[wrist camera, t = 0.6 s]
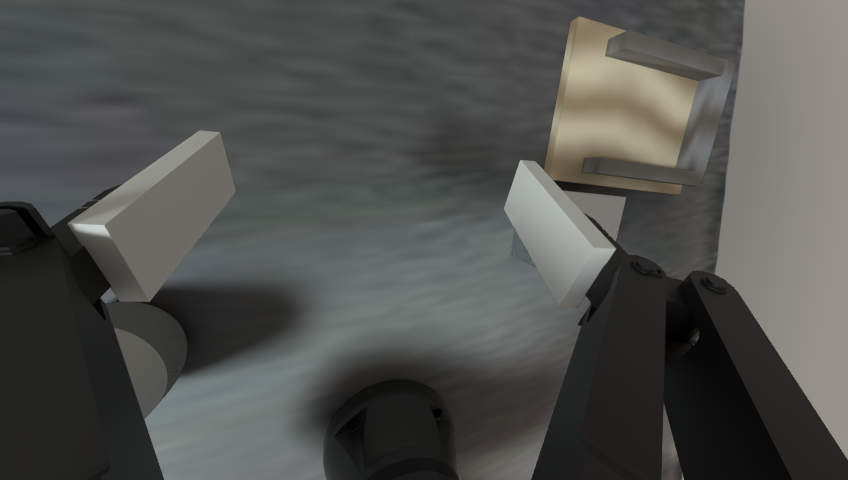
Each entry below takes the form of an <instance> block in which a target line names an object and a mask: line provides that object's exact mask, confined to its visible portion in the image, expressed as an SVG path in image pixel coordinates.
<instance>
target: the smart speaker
mask: <svg viewBox="0 0 848 480" xmlns="http://www.w3.org/2000/svg"><path fill="white" fill-rule="evenodd" d="M105 305H106V306H107V309H108V312H109V315H110V318H111V321H112V324H113V327H114V330H115V333H116V336H117V339H118V342H119V345H120V348H121V351H122V354H123V357H124V360H125V363H126V366H127V369H128V372H129V375H130V378H131V381H132V384H133V387H134V390H135V394H136V397H137V400H138V403H139V406H140V409H141V412H142V415H143V418H144V419H145V418H146V417H147V416H148V415H149V414H150V413H151V412H152V410H153V409H154V408H155V407H156V406H157V405H158V404H159V403H160V401H161V400H162V399H163V398H164V397H165V395H166V394H167V393H168V392H169V390H170V389H171V388H172V386H173V385H174V384H175V382H176V380H177V379H178V377H179V375H180V373H181V371H182V369H183V367H184V364H185V361H186V356H187V339H186V336H185V333H184V331H183V329H182V327H181V325H180V324H179V323H178V322H177V320H176V319H175V318H173V317H172V316H171V315H170V314H168V313H167V312H165V311H164V310H162V309H160V308H157V307H155V306H152V305H149V304H144V303H138V302H113V303H106V304H105Z"/></svg>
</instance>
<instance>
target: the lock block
mask: <svg viewBox="0 0 848 480" xmlns="http://www.w3.org/2000/svg"><path fill="white" fill-rule="evenodd" d="M562 191H563V192H564V193H565V194H566V195H567V196H568V197H569V198H570V199H571V200H572V202H573V203H574V204H575V205H576V206H577V207H578V208H579V209H580V210H581V211H582V212H583V213H585V214H587V215H588V216H590V217H591V218H593V219H594V220H596V221H597V222H598V224H599V225H600V226H601V227H602V229H604V230H605V231H606V232H607V233H608V234H609V235H608V236H611V237H612V238H613V239H614V240H615V241H616V239H617V234H618V230H619V226H620V222H621V218H622V213H623V209H624V205H625V201H626V197H620V196H611V195H602V194H594V193H585V192H576V191H566V190H562ZM510 255H512V256H514V257H516V258H518V259H520V260H522V261H524V262H525V263H527V264H529V265H531V266H533V267H535V268H537V267H536V265H535V264H534V262H533V260H532V258H531V257H530V255H529V253H528V251H527V249H526V248H525V246H524V244H523V242H522V241H521V239H520V237H519V235H518V233H517V232H516V230H515V228H514V234H513V240H512V246H511V252H510Z"/></svg>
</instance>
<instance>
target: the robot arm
mask: <svg viewBox="0 0 848 480" xmlns="http://www.w3.org/2000/svg"><path fill="white" fill-rule="evenodd" d="M235 192H236V191H235V187H234V183H233V180H232V176H231V172H230V168H229V164H228V161H227V157H226V153H225V149H224V145H223V142H222V138H221V134H220V132H209V131H198V132H197V133H195V134H194V135H193V136H191V137H190V138H188V139H187V140H185V141H184V142H183V143H181V144H180V145H178V146H177V147H175V148H174V149H173V150H171V151H170V152H168V153H167V154H166V155H164V156H163V157H161V158H160V159H158V160H157V161H156V162H154V163H153V164H151V165H150V166H148V167H147V168H146V169H144V170H143V171H141V172H140V173H138V174H137V175H136V176H134V177H133V178H131V179H130V180H128V181H127V182H126V183H124V184H121V185H118V186H116V187H113V188H111V189H108V190H105V191H104V192H102V193H101V194H99V195H98V196H96V197H95V198H93V199H92V201H89V202H87V203H86V204H85V205H83V206H82V207H81V209H77V210H76V211H74V212H73V213H71V214H70V215H68V216H67V217H65V218H64V219H62V220H61V221H59V222H58V223H57V224H55V225H54V226H52V227H51V228H50V227H49V226H48V225H47V223H46V222H45V221H44V219H43V218H42V216H41V215H40V214H39V212H38V211H37V210H36V208H35V207H34V206H33V205H32V204H30V203H25V202H1V203H0V480H164V478H163V475H162V472H161V469H160V466H159V463H158V460H157V457H156V454H155V451H154V448H153V445H152V442H151V439H150V436H149V433H148V430H147V427H146V424H145V421H144V418H143V415H142V412H141V409H140V406H139V403H138V400H137V397H136V394H135V390H134V387H133V384H132V381H131V378H130V375H129V372H128V369H127V366H126V363H125V360H124V357H123V354H122V351H121V348H120V345H119V342H118V339H117V336H116V333H115V330H114V327H113V324H112V321H111V318H110V315H109V312H108V309H107V306H106V305H105V303H104V302H103V300H102V299H101V298H100V297H101V296H102V295H103V294H104V293H105V292H106V291H107V290H108V289H109V288H110V287H111V289H112V290H113V292H114V293H115V295H116V296H117V298H118V299H119V301H120V302H150V301H151V300H152V298H153V297H154V296H155V294H156V293H157V292H158V291H159V289H160V288H161V287H162V286H163V284H164V283H165V282H166V280H167V279H168V278H169V277H170V275H171V274H172V273H173V271H174V270H175V269H176V268H177V266H178V265H179V264H180V263H181V261H182V260H183V259H184V257H185V256H186V255H187V254H188V252H189V251H190V250H191V248H192V247H193V246H194V245H195V243H196V242H197V241H198V239H199V238H200V237H201V236H202V234H203V233H204V232H205V231H206V229H207V228H208V227H209V225H210V224H211V223H212V222H213V220H214V219H215V218H216V216H217V215H218V214H219V213H220V211H221V210H222V209H223V208H224V206H225V205H226V204H227V202H228V201H229V200H230V199H231V197H232V196H233V195H234V193H235ZM504 210H505V212H506V214H507V216H508V217H509V219H510V221H511V223H512V225H513V226H514V228H515V230H516V232H517V233H518V235H519V237H520V239H521V241H522V242H523V244H524V246H525V248H526V249H527V251H528V253H529V255H530V257H531V258H532V260H533V262H534V264H535V265H536V267H537V269H538V271H539V273H540V274H541V276H542V278H543V280H544V281H545V283H546V285H547V287H548V289H549V290H550V292H551V294H552V296H553V297H554V299H555V301H556V303H557V305H558V306H559V307H579V305H580V304H581V302H582V301H583V299H584V298H585V296H587V298H588V299H589V300H590V302H591V303H592V304H591V305H590V307H589V308H588V310H587V311H586V313H585V314H584V316H583V317H582V319H581V320H580V321H579V323H578V325H580V326H581V325H582V327H581V330H580V333H579V336H578V339H577V342H576V345H575V348H574V351H573V354H572V357H571V360H570V363H569V366H568V369H567V372H566V375H565V378H564V381H563V385H562V388H561V391H560V394H559V397H558V400H557V403H556V406H555V409H554V412H553V415H552V418H551V421H550V424H549V427H548V430H547V433H546V436H545V439H544V442H543V445H542V448H541V451H540V455H539V458H538V461H537V464H536V467H535V470H534V473H533V476H532V479H531V480H661V469H662V433H663V401H664V405H665V409H666V412H667V416H668V420H669V424H670V428H671V431H672V435H673V439H674V443H675V447H676V450H677V454H678V458H679V462H680V466H681V469H682V473H683V477H684V480H848V460H847V458H846V457H845V455H844V454H843V452H842V450H841V449H840V447H839V446H838V444H837V443H836V441H835V440H834V438H833V437H832V435H831V434H830V432H829V431H828V429H827V428H826V426H825V424H824V423H823V422H822V420H821V418H820V417H819V415H818V414H817V412H816V411H815V409H814V408H813V406H812V405H811V403H810V402H809V400H808V399H807V397H806V396H805V394H804V392H803V391H802V389H801V388H800V386H799V385H798V383H797V382H796V380H795V379H794V377H793V376H792V374H791V373H790V371H789V369H788V368H787V366H786V365H785V363H784V362H783V360H782V359H781V357H780V356H779V354H778V353H777V351H776V350H775V348H774V347H773V345H772V344H771V342H770V341H769V339H768V338H767V336H766V335H765V333H764V331H763V330H762V328H761V327H760V325H759V324H758V322H757V321H756V319H755V318H754V316H753V314H752V313H751V311H750V310H749V308H748V307H747V305H746V304H745V302H744V301H743V299H742V298H741V296H740V295H739V293H738V292H737V291H736V290H735V289H734V287H732V286H731V285H730V284H728V283H727V282H726V280H724V279H722V278H720V277H719V276H717V275H712V274H710V273H707V272H703V271H692V272H691V273H690V274H689V275H688V277H687V278H686V279H685V280H684V281H682V280H678V279H674V278H670V277H666V274H665V272H664V271H663V270H662V269H661V267H659V266H658V265H656V264H655V263H654V262H652V261H650V260H648V259H646V258H643V257H640V256H637V255H628V254H627V253H626V252H625V251H624V250H623V249H622V248H621V247H620V246H619V245H618V244H617V242H616V241H615V240H614V239H613V238H612V237H611V236H608V235H609V234H608V233H607V232H606V231H605V230H604V229H602V227H601V226H600V225H599V224H598V222H597V221H596V220H594V219H593V218H591V217H590V216H588V215H587V214H585V213H583V212H582V211H581V210H580V209H579V208H578V207H577V206H576V205H575V204H574V203H573V202H572V200H571V199H570V198H569V197H568V196H567V195H566V194H565V193H564V192H563V191H562V190H561V189H560V187H559V186H558V185H557V184H556V183H555V182H554V181H553V180H552V179H551V178H550V177H549V176H548V174H547V173H546V172H545V171H544V170H543V169H542V168H541V167H540V166H539V165H538V164H537V163H536V161H526V160H520V163H519V166H518V169H517V172H516V175H515V178H514V181H513V183H512V186H511V189H510V192H509V195H508V198H507V201H506V204H505V207H504ZM698 336H699V339H698V341H697V343H696V341H695V339H696V338H697V337H698ZM323 465H324V472H325V476H326V479H327V480H459V477H458V475H457V467H456V453H455V439H454V428H453V424H452V420H451V417H450V415H449V413H448V410H447V408H446V406H445V404H444V402H443V400H442V399H441V397H440V396H439V395H438V394H437V393H436V392H435V391H434V390H432V389H431V388H429V387H428V386H426V385H423V384H421V383H418V382H413V381H405V380H397V381H388V382H384V383H380V384H377V385H374V386H371V387H369V388H367V389H365V390H363V391H361V392H359V393H358V394H356V395H355V396H353V397H352V398H351V399H349V400H348V401H347V402H346V403H345V404H344V405H343V406H342V407H341V408H340V409H339V410H338V411H337V413H336V414H335V415H334V417H333V419H332V420H331V422H330V424H329V426H328V428H327V431H326V434H325V439H324V454H323Z"/></svg>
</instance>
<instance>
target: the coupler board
mask: <svg viewBox="0 0 848 480" xmlns="http://www.w3.org/2000/svg"><path fill="white" fill-rule="evenodd" d="M735 66H736V63H735V62H732V61H729V60H725V59H722V58H719V57H716V56H712V55H709V54H706V53H703V52H699V51H696V50H693V49H690V48H686V47H683V46H680V45H677V44H674V43H670V42H667V41H664V40H661V39H657V38H654V37H651V36H648V35H644V34H641V33H638V32H635V31H631V30H627V31H625V30H622V29H619V28H615V27H612V26H609V25H605V24H602V23H599V22H596V21H592V20H589V19H586V18H583V17H578V18H576V19H575V20H573V21H571V24H570V29H569V35H568V40H567V46H566V51H565V57H564V63H563V68H562V74H561V79H560V85H559V90H558V96H557V101H556V107H555V112H554V118H553V123H552V129H551V134H550V140H549V145H548V151H547V156H546V162H545V167H544V171H545V172H546V173H547V174H548V176H549V177H550V178H551V179H552V180H555V181H563V182H572V183H581V184H589V185H598V186H607V187H615V188H624V189H632V190H641V191H650V192H658V193H667V194H677V195H680V192H681V188H682V185H688V186H701V184H702V180H703V177H704V173H705V170H706V167H707V163H708V160H709V156H710V153H711V149H712V146H713V142H714V139H715V135H716V132H717V128H718V125H719V121H720V118H721V115H722V111H723V108H724V104H725V101H726V97H727V94H728V90H729V87H730V83H731V80H732V76H733V73H734V69H735Z"/></svg>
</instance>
